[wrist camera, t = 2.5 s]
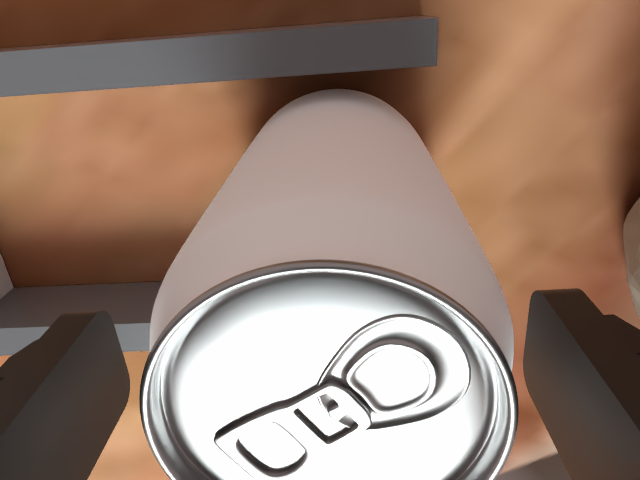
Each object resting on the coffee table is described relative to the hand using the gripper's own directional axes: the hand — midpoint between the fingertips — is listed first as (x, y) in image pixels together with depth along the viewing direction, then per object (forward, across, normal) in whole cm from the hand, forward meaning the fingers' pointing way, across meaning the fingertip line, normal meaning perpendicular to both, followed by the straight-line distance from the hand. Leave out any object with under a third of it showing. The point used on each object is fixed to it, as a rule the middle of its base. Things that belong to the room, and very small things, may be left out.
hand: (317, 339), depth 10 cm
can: (+10, 0, 0) cm, 10 cm away
